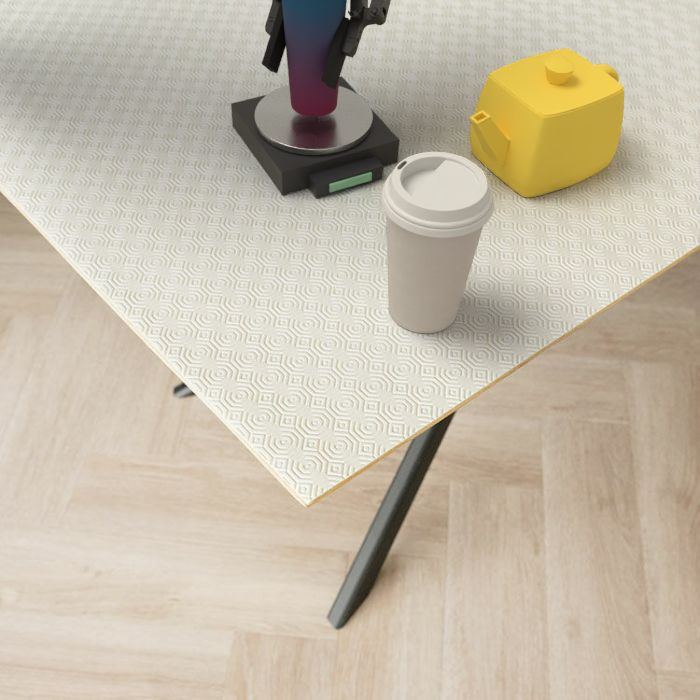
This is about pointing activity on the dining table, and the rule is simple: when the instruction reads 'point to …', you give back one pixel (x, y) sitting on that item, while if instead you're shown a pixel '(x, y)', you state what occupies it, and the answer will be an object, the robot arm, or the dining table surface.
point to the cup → (311, 52)
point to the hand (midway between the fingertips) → (298, 76)
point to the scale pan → (313, 124)
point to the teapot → (548, 121)
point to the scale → (318, 156)
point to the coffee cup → (432, 236)
